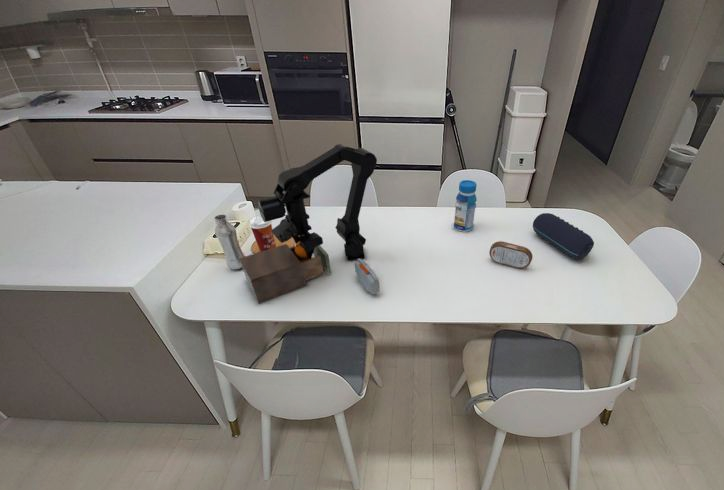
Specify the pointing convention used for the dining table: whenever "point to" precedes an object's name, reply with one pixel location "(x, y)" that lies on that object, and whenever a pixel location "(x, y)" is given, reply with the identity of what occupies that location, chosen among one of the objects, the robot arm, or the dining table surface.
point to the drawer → (314, 263)
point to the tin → (510, 254)
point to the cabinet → (273, 272)
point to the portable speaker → (563, 235)
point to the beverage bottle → (465, 206)
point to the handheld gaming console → (367, 276)
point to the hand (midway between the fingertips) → (305, 253)
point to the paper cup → (262, 233)
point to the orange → (300, 251)
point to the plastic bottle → (228, 241)
